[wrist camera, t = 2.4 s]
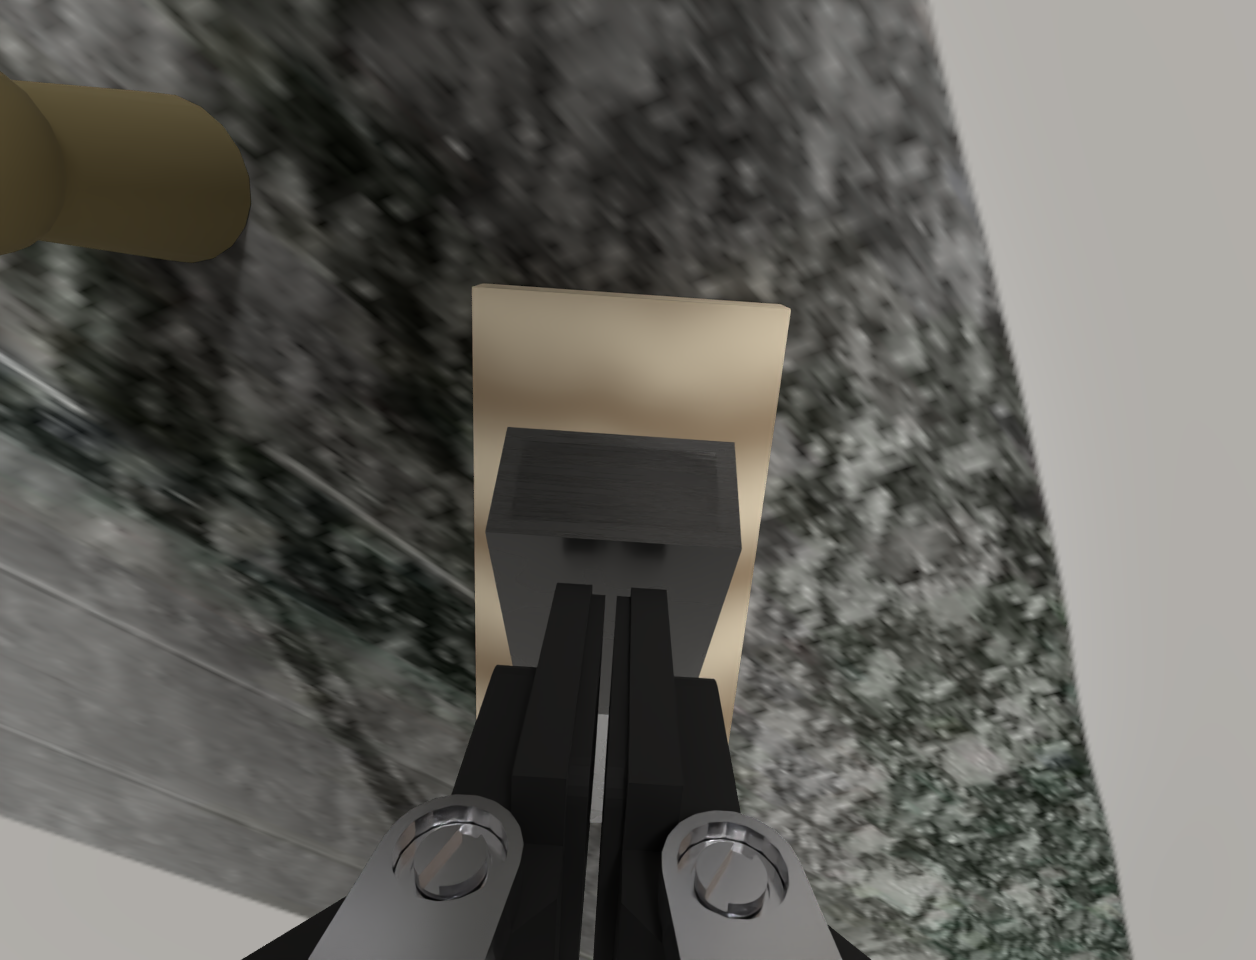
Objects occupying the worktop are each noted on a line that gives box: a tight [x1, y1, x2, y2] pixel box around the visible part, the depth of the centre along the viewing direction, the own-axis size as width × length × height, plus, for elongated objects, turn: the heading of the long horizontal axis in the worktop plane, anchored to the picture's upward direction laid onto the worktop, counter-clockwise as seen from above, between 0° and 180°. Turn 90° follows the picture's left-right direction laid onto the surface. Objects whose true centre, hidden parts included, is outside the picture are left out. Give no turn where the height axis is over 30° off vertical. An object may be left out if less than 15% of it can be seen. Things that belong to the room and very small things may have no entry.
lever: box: [485, 427, 742, 823], centre depth 18 cm, size 19×4×4 cm
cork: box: [0, 71, 251, 263], centre depth 21 cm, size 6×6×11 cm
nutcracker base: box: [472, 283, 791, 742], centre depth 26 cm, size 21×12×12 cm, turn 176°
